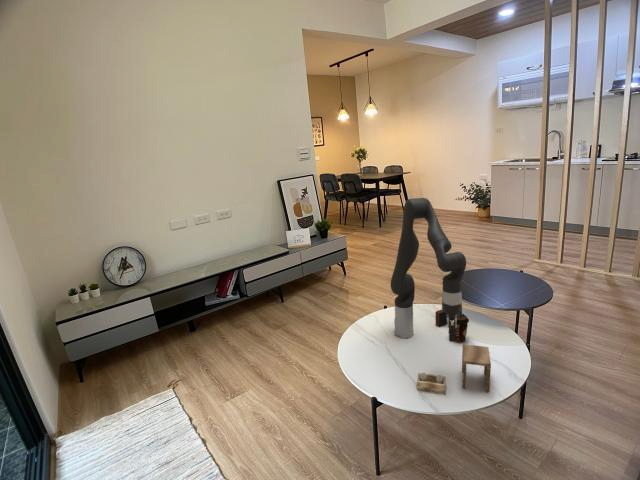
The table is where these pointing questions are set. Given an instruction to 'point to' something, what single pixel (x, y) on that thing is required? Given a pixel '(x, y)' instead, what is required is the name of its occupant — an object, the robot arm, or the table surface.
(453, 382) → the table surface
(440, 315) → the radio
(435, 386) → the tray
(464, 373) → the wooden stool
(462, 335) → the coffee cup
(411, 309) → the robot arm
